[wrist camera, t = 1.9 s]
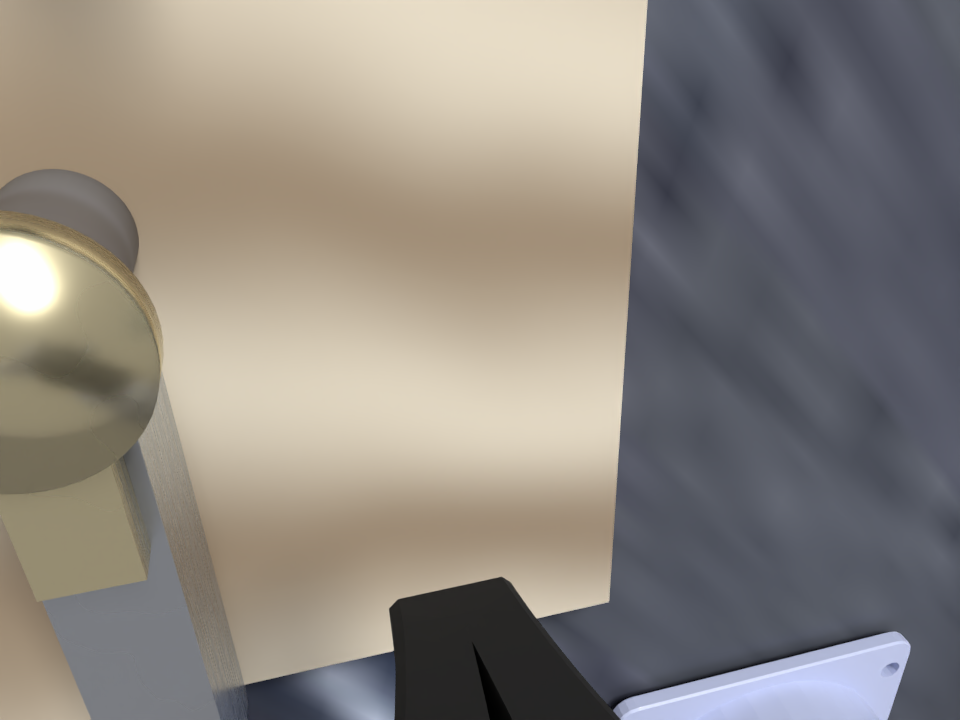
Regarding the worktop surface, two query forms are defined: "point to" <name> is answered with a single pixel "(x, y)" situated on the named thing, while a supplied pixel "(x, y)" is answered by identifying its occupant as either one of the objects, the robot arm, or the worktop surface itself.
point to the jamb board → (349, 291)
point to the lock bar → (105, 484)
